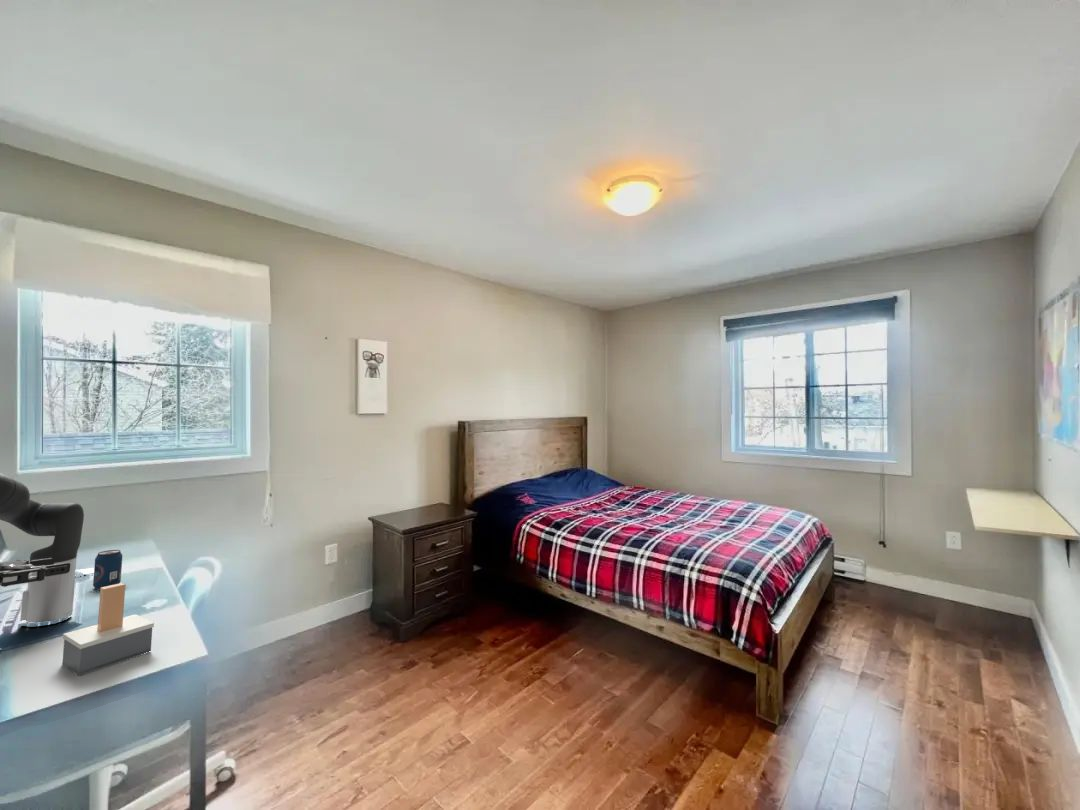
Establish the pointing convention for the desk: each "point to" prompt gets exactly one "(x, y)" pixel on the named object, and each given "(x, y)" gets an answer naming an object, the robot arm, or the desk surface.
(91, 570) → the external hard drive
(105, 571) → the soda can
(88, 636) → the lid
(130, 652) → the tub
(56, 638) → the desk surface
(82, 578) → the desk surface
